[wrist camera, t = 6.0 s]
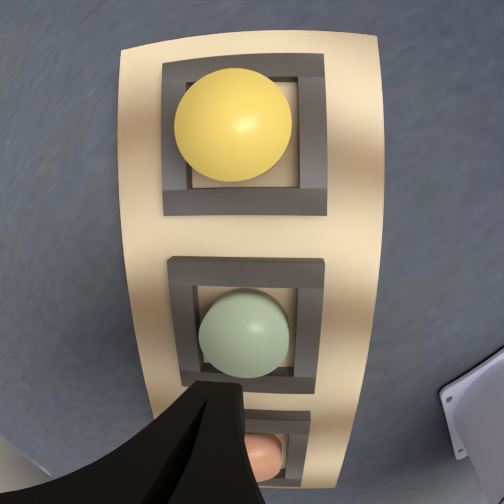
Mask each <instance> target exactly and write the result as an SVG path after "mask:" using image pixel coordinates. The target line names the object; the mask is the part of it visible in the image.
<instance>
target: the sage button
mask: <svg viewBox="0 0 504 504" xmlns="http://www.w3.org/2000/svg"><path fill="white" fill-rule="evenodd" d="M199 343H200V347H201V350H202V352H203V354H204V356H205V357H206V359H207V360H208V361H209V362H210V363H211V364H212V365H213V366H214V367H215V368H217V369H218V370H220V371H221V372H223V373H225V374H228V375H231V376H234V377H238V378H256V377H260V376H263V375H266V374H268V373H270V372H272V371H273V370H275V369H276V368H277V367H278V366H279V365H280V364H281V363H282V361H283V360H284V358H285V356H286V354H287V351H288V345H289V322H288V317H287V314H286V312H285V310H284V308H283V307H282V305H281V304H280V303H279V302H278V301H277V300H276V299H275V298H274V297H273V296H271V295H270V294H268V293H266V292H264V291H261V290H258V289H254V288H237V289H233V290H230V291H227V292H225V293H223V294H222V295H220V296H219V297H218V298H217V299H216V300H215V301H214V302H213V304H212V305H211V307H210V308H209V310H208V312H207V314H206V316H205V317H204V319H203V321H202V323H201V326H200V329H199Z"/></svg>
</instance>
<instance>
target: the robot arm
mask: <svg viewBox="0 0 504 504" xmlns="http://www.w3.org/2000/svg"><path fill="white" fill-rule="evenodd" d="M439 394H440V399H441V402H442V406H443V410H444V413H445V417H446V421H447V424H448V428H449V432H450V436H451V441H452V445H453V449H454V454H455V457H456V459H457V460H460V459H462V458H464V457H466V456H467V455H468V456H469V458H470V460H471V462H472V464H473V466H474V469H475V471H476V473H477V475H478V477H479V479H480V482H481V484H482V486H483V488H484V491H485V493H486V495H487V498H488V500H489V502H490V503H491V504H504V348H503V349H502V350H500V351H499V352H498V353H496V354H495V355H494V356H492V357H491V358H489V359H488V360H486V361H485V362H483V363H482V364H480V365H479V366H477V367H476V368H474V369H473V370H471V371H470V372H468V373H467V374H465V375H464V376H462V377H460V378H459V379H457V380H456V381H454V382H452V383H451V384H449V385H447V386H446V387H444V388H443V389H442V390H441V391H440V393H439ZM448 397H449V398H448ZM447 398H448V399H447ZM244 440H245V416H244V400H243V387H242V386H241V385H240V384H239V383H227V382H212V381H200V380H196V381H195V382H194V383H193V384H192V385H191V386H189V387H188V388H187V389H186V390H185V391H184V392H183V393H182V394H181V395H180V396H179V397H178V398H177V399H176V400H175V401H174V402H173V403H172V404H171V405H170V406H169V407H168V408H167V409H166V410H165V411H163V412H162V413H161V414H160V415H159V416H158V417H157V418H156V419H154V420H153V421H152V422H151V423H150V424H149V425H147V426H146V427H145V428H144V429H142V430H141V431H140V432H138V433H137V434H136V435H135V436H133V437H132V438H131V439H129V440H128V441H127V442H125V443H124V444H122V445H121V446H120V447H118V448H117V449H115V450H113V451H112V452H110V453H109V454H107V455H105V456H104V457H102V458H100V459H99V460H97V461H95V462H93V463H91V464H89V465H87V466H85V467H83V468H81V469H79V470H76V471H74V472H72V473H70V474H67V475H65V476H63V477H60V478H58V479H55V480H52V481H49V482H46V483H44V484H40V485H36V486H33V487H29V488H25V489H21V490H17V491H11V492H5V493H0V504H265V502H264V499H263V497H262V495H261V492H260V490H259V487H258V484H257V482H256V479H255V476H254V473H253V470H252V467H251V464H250V460H249V457H248V453H247V449H246V445H245V441H244Z"/></svg>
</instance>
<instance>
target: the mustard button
mask: <svg viewBox="0 0 504 504" xmlns="http://www.w3.org/2000/svg"><path fill="white" fill-rule="evenodd" d="M291 127H292V119H291V112H290V107H289V105H288V102H287V100H286V98H285V96H284V94H283V93H282V91H281V90H280V89H279V87H278V86H277V85H276V84H275V83H274V82H272V81H271V80H270V79H268V78H267V77H265V76H264V75H262V74H260V73H257V72H255V71H252V70H248V69H241V68H229V69H222V70H218V71H215V72H213V73H210V74H208V75H206V76H204V77H202V78H201V79H200V80H198V81H197V82H195V83H194V84H193V85H192V86H191V87H190V88H189V89H188V91H187V92H186V93H185V95H184V96H183V98H182V99H181V101H180V103H179V105H178V108H177V111H176V115H175V122H174V132H175V139H176V143H177V145H178V148H179V150H180V152H181V154H182V156H183V157H184V159H185V160H186V161H187V162H188V164H189V165H190V166H191V167H193V168H194V169H195V170H196V171H198V172H199V173H201V174H202V175H204V176H207V177H209V178H212V179H215V180H219V181H226V182H235V181H243V180H247V179H252V178H255V177H258V176H260V175H262V174H264V173H266V172H268V171H269V170H271V169H272V168H273V167H274V166H275V165H276V164H277V163H278V162H279V161H280V160H281V158H282V157H283V155H284V154H285V152H286V150H287V148H288V145H289V142H290V137H291Z"/></svg>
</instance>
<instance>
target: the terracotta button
mask: <svg viewBox="0 0 504 504" xmlns="http://www.w3.org/2000/svg"><path fill="white" fill-rule="evenodd" d="M244 441H245V445H246V449H247V453H248V457H249V460H250V464H251V467H252V470H253V473H254V476H255V479H256V482H261V481H265V480H268V479H271V478H273V477H274V476H276V475H277V474H278V473H279V471H280V469H281V460H282V444H281V442H280V440H279V439H278V438H277V437H276V436H275V435H274V434H266V433H249V432H245V440H244Z"/></svg>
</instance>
